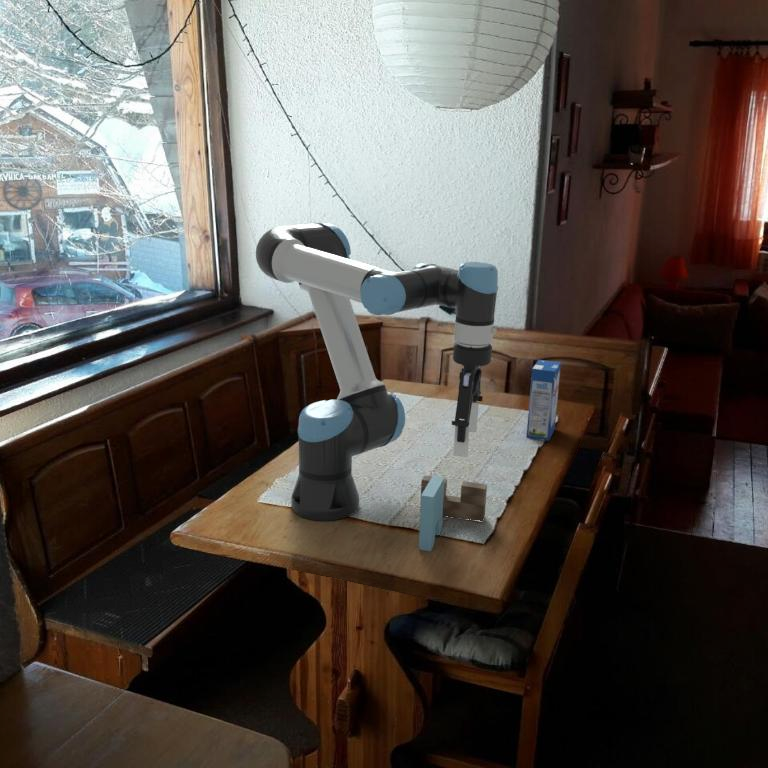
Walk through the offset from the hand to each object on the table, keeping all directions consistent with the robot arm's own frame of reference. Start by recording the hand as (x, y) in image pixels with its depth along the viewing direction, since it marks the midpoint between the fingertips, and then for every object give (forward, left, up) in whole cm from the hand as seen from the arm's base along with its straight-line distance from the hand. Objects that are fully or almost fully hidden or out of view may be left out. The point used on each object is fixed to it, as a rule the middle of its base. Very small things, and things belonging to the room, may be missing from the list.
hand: (465, 442), depth 164 cm
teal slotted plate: (-5, -5, -20) cm, 21 cm away
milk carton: (+10, +65, -20) cm, 69 cm away
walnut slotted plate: (-3, +7, -20) cm, 21 cm away
